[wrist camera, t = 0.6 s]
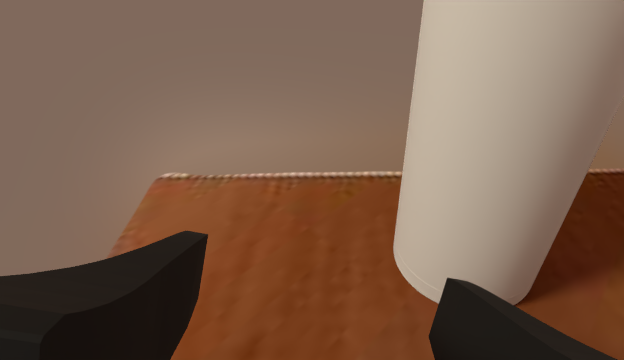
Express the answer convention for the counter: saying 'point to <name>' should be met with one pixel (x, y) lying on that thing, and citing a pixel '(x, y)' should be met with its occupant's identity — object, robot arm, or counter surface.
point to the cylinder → (502, 135)
